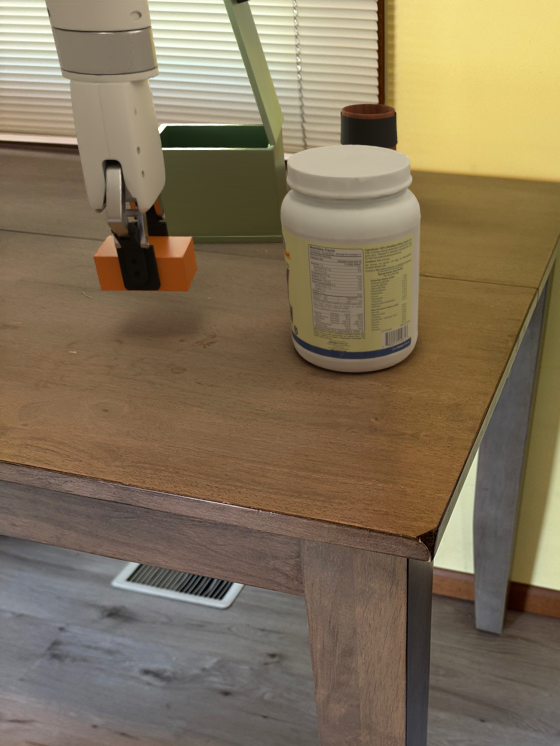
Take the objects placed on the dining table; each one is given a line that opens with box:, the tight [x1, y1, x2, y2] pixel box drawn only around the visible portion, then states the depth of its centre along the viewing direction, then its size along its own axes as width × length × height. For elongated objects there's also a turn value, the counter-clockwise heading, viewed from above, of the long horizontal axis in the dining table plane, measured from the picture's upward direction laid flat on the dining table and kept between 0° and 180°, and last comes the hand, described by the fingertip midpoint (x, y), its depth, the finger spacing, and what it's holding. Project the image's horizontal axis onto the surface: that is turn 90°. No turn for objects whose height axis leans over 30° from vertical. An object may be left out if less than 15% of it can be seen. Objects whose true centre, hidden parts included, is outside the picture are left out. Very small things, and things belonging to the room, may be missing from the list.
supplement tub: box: [281, 144, 422, 373], centre depth 68 cm, size 12×12×17 cm
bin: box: [158, 123, 288, 244], centre depth 97 cm, size 16×14×11 cm
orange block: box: [92, 235, 198, 292], centre depth 71 cm, size 8×6×3 cm
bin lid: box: [222, 0, 285, 146], centre depth 89 cm, size 16×14×5 cm
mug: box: [339, 103, 399, 151], centre depth 108 cm, size 9×12×12 cm
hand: (149, 274), depth 72 cm, fingers closed on orange block, 5 cm apart
